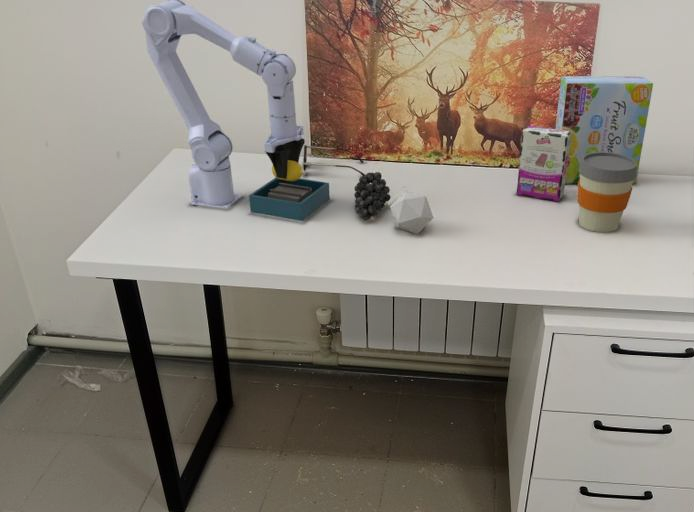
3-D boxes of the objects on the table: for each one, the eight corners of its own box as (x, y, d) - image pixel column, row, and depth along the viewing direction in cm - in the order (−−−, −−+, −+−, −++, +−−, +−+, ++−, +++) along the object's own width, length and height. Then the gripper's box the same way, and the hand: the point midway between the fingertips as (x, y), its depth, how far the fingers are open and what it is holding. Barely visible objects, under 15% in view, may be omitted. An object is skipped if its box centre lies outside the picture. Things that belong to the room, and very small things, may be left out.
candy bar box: (563, 195, 184) (572, 130, 174) (559, 202, 180) (568, 136, 171) (520, 188, 187) (527, 124, 178) (515, 195, 183) (522, 129, 174)
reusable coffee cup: (591, 209, 177) (601, 148, 168) (636, 225, 169) (649, 162, 161) (560, 223, 169) (569, 160, 161) (606, 240, 162) (618, 175, 153)
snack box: (627, 173, 198) (646, 75, 184) (636, 185, 191) (656, 83, 176) (548, 172, 197) (560, 73, 183) (554, 184, 190) (567, 82, 176)
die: (439, 231, 165) (429, 188, 166) (429, 226, 157) (419, 181, 157) (404, 241, 168) (395, 199, 168) (392, 237, 159) (382, 192, 159)
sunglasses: (304, 161, 200) (304, 143, 197) (362, 164, 202) (363, 146, 199) (303, 179, 188) (303, 160, 186) (365, 182, 191) (366, 163, 188)
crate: (250, 214, 169) (248, 195, 167) (280, 192, 181) (279, 174, 178) (302, 223, 166) (301, 204, 163) (329, 200, 177) (329, 182, 174)
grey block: (268, 207, 171) (267, 191, 169) (283, 197, 177) (281, 181, 174) (299, 213, 169) (298, 196, 167) (312, 202, 174) (311, 185, 172)
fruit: (370, 188, 160) (386, 164, 172) (336, 196, 163) (354, 171, 175) (382, 223, 164) (397, 197, 176) (349, 231, 167) (366, 204, 179)
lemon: (268, 180, 168) (266, 161, 166) (277, 174, 172) (276, 155, 169) (298, 185, 166) (296, 166, 163) (307, 179, 170) (306, 159, 167)
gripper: (282, 125, 154) (287, 187, 161) (313, 108, 165) (316, 166, 173) (253, 121, 156) (259, 182, 163) (286, 104, 167) (290, 162, 175)
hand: (287, 174), depth 168 cm, fingers closed on lemon, 4 cm apart
